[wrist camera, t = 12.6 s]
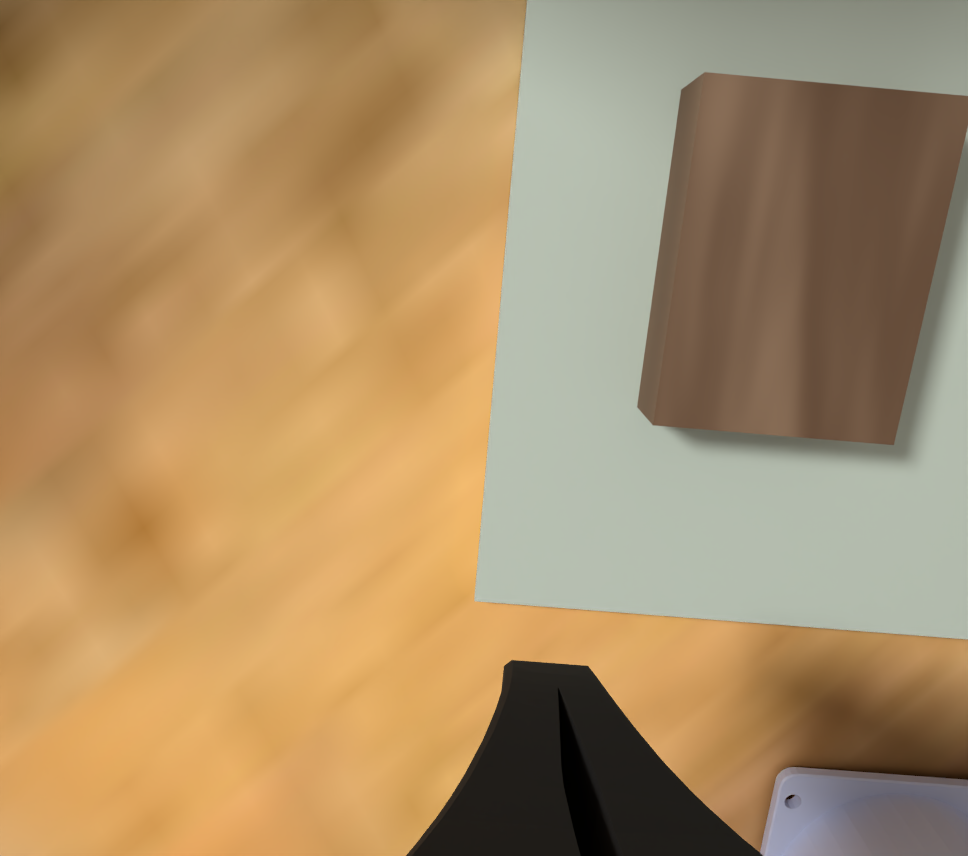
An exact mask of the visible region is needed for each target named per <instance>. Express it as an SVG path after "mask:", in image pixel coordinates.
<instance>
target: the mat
mask: <svg viewBox="0 0 968 856" xmlns="http://www.w3.org/2000/svg"><path fill="white" fill-rule="evenodd" d="M704 72H709V73H720V74H731V75H742V76H753V77H764V78H775V79H786V80H797V81H808V82H819V83H830V84H841V85H852V86H863V87H874V88H885V89H896V90H907V91H918V92H929V93H940V94H951V95H963V96H968V0H527V6H526V18H525V29H524V40H523V52H522V63H521V74H520V86H519V97H518V108H517V120H516V131H515V143H514V154H513V165H512V177H511V188H510V199H509V211H508V222H507V233H506V245H505V256H504V268H503V279H502V290H501V302H500V313H499V324H498V336H497V347H496V358H495V370H494V381H493V393H492V404H491V415H490V427H489V438H488V449H487V461H486V472H485V483H484V495H483V506H482V518H481V529H480V540H479V552H478V563H477V574H476V586H475V601H479V602H492V603H505V604H518V605H531V606H544V607H557V608H570V609H583V610H596V611H608V612H621V613H634V614H647V615H660V616H673V617H686V618H699V619H712V620H724V621H737V622H750V623H763V624H776V625H789V626H802V627H815V628H828V629H840V630H853V631H866V632H879V633H892V634H905V635H918V636H931V637H944V638H956V639H968V128H967V132H966V137H965V141H964V145H963V150H962V154H961V158H960V163H959V167H958V171H957V176H956V180H955V184H954V188H953V193H952V197H951V201H950V206H949V210H948V214H947V219H946V223H945V227H944V231H943V236H942V240H941V244H940V249H939V253H938V257H937V262H936V266H935V270H934V275H933V279H932V283H931V287H930V292H929V296H928V300H927V305H926V309H925V313H924V318H923V322H922V326H921V331H920V335H919V339H918V343H917V348H916V352H915V356H914V361H913V365H912V369H911V374H910V378H909V382H908V386H907V391H906V395H905V399H904V404H903V408H902V412H901V417H900V421H899V425H898V430H897V434H896V438H895V442H894V445H886V444H874V443H862V442H849V441H837V440H825V439H813V438H801V437H789V436H776V435H764V434H752V433H740V432H728V431H716V430H703V429H691V428H679V427H667V426H655V425H652V424H651V423H650V421H649V420H648V419H647V418H646V417H645V416H644V415H643V413H642V412H641V411H640V410H639V409H638V408H637V403H638V396H639V389H640V382H641V375H642V367H643V360H644V353H645V346H646V339H647V332H648V324H649V317H650V310H651V303H652V296H653V288H654V281H655V274H656V267H657V260H658V253H659V245H660V238H661V231H662V224H663V217H664V209H665V202H666V195H667V188H668V181H669V174H670V166H671V159H672V152H673V145H674V138H675V130H676V123H677V116H678V109H679V102H680V95H681V89H683V88H684V87H685V86H687V85H688V84H689V83H691V82H692V81H693V80H695V79H696V78H697V77H699V76H700V75H701V74H703V73H704Z"/></svg>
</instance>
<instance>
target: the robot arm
mask: <svg viewBox="0 0 968 856" xmlns="http://www.w3.org/2000/svg"><path fill="white" fill-rule="evenodd" d="M790 795H795V796H794V797H793V798H791V799H786V797H788V796H790ZM406 856H968V780H964V779H951V778H937V777H924V776H910V775H897V774H883V773H870V772H856V771H843V770H829V769H816V768H803V767H788V768H786V769H784V770H782V771H781V772H780V773H779V774H778V775H777V778H776V781H775V785H774V790H773V795H772V799H771V804H770V808H769V813H768V818H767V822H766V827H765V832H764V836H763V841H762V846H761V850H760V853H759V852H758V851H757V850H756V849H755V848H753V847H752V846H751V845H750V844H748V843H747V842H746V841H745V840H744V839H742V838H741V837H740V836H739V835H738V834H737V833H736V832H735V831H733V830H732V829H731V828H730V827H729V826H728V825H727V824H726V823H725V822H723V821H722V820H721V819H720V818H719V817H718V816H717V815H716V814H714V813H713V812H712V811H711V810H710V809H709V808H708V807H707V806H706V805H705V804H704V803H703V802H702V801H701V800H700V799H699V798H697V797H696V796H695V795H694V794H693V793H692V792H691V791H690V790H689V789H688V787H687V786H686V785H685V784H684V783H683V782H682V781H681V780H680V779H679V778H678V777H677V776H676V775H675V774H674V773H673V772H672V771H671V770H670V768H669V767H668V766H667V765H666V764H665V763H664V762H663V761H662V760H661V759H660V757H659V756H658V755H657V754H656V753H655V752H654V750H653V749H652V748H651V747H650V746H649V744H648V743H647V742H646V741H645V740H644V738H643V737H642V736H641V735H640V733H639V732H638V731H637V730H636V729H635V727H634V726H633V725H632V724H631V722H630V721H629V720H628V718H627V717H626V716H625V715H624V713H623V712H622V711H621V709H620V708H619V707H618V705H617V704H616V703H615V701H614V700H613V699H612V697H611V696H610V695H609V693H608V692H607V691H606V689H605V688H604V687H603V685H602V684H601V682H600V681H599V680H598V678H597V677H596V676H595V674H594V673H593V672H592V671H591V669H590V668H589V667H588V666H581V665H568V664H555V663H541V662H528V661H515V660H512V661H510V662H509V663H508V664H506V665H505V666H504V673H503V682H502V691H501V695H500V698H499V701H498V704H497V707H496V710H495V713H494V715H493V717H492V720H491V722H490V725H489V727H488V730H487V732H486V734H485V736H484V739H483V741H482V743H481V745H480V747H479V748H478V750H477V752H476V754H475V756H474V758H473V760H472V762H471V764H470V766H469V767H468V769H467V771H466V773H465V775H464V776H463V778H462V780H461V781H460V783H459V785H458V786H457V788H456V789H455V791H454V793H453V794H452V796H451V797H450V799H449V800H448V802H447V803H446V805H445V806H444V807H443V809H442V810H441V812H440V813H439V815H438V816H437V817H436V819H435V820H434V821H433V823H432V824H431V825H430V827H429V828H428V829H427V830H426V832H425V833H424V834H423V836H422V837H421V838H420V840H419V841H418V842H417V843H416V845H415V846H414V847H413V848H412V849H411V851H410V852H409V853H408V854H407V855H406Z"/></svg>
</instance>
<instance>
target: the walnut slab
mask: <svg viewBox="0 0 968 856" xmlns="http://www.w3.org/2000/svg"><path fill="white" fill-rule="evenodd" d="M967 128H968V96H963V95H951V94H940V93H929V92H918V91H907V90H896V89H885V88H874V87H863V86H852V85H841V84H830V83H819V82H808V81H797V80H786V79H775V78H764V77H753V76H742V75H731V74H720V73H709V72H704V73H703V74H701V75H700V76H699V77H697V78H696V79H695V80H693V81H692V82H691V83H689V84H688V85H687V86H685V87H684V88H683V89H681V95H680V102H679V109H678V116H677V123H676V130H675V138H674V145H673V152H672V159H671V166H670V174H669V181H668V188H667V195H666V202H665V209H664V217H663V224H662V231H661V238H660V245H659V253H658V260H657V267H656V274H655V281H654V288H653V296H652V303H651V310H650V317H649V324H648V332H647V339H646V346H645V353H644V360H643V367H642V375H641V382H640V389H639V396H638V403H637V408H638V409H639V410H640V411H641V412H642V413H643V415H644V416H645V417H646V418H647V419H648V420H649V421H650V423H651V424H652V425H655V426H667V427H679V428H691V429H703V430H716V431H728V432H740V433H752V434H764V435H776V436H789V437H801V438H813V439H825V440H837V441H849V442H862V443H874V444H886V445H894V442H895V438H896V434H897V430H898V425H899V421H900V417H901V412H902V408H903V404H904V399H905V395H906V391H907V386H908V382H909V378H910V374H911V369H912V365H913V361H914V356H915V352H916V348H917V343H918V339H919V335H920V331H921V326H922V322H923V318H924V313H925V309H926V305H927V300H928V296H929V292H930V287H931V283H932V279H933V275H934V270H935V266H936V262H937V257H938V253H939V249H940V244H941V240H942V236H943V231H944V227H945V223H946V219H947V214H948V210H949V206H950V201H951V197H952V193H953V188H954V184H955V180H956V176H957V171H958V167H959V163H960V158H961V154H962V150H963V145H964V141H965V137H966V132H967Z"/></svg>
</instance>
